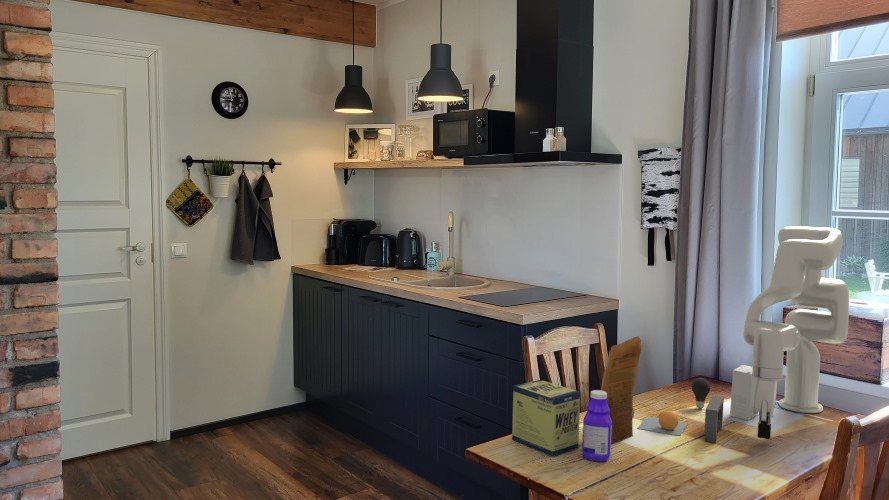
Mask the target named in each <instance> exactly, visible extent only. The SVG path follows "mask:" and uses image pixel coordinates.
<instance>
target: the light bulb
mask: <svg viewBox="0 0 889 500" xmlns="http://www.w3.org/2000/svg"><path fill="white" fill-rule="evenodd" d="M691 390H692V393H693V395H694V397H695V399H694V400H695V401H696V402H695V407H696V408H698V410H702V409H704V407H705V402H706V399H707V396H708V395H709V394H710V392H711V383H710V382H709V381H708V380H707V379H706V378H704V377H697V378H695V379H694V380H693V381H692V383H691Z"/></svg>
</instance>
